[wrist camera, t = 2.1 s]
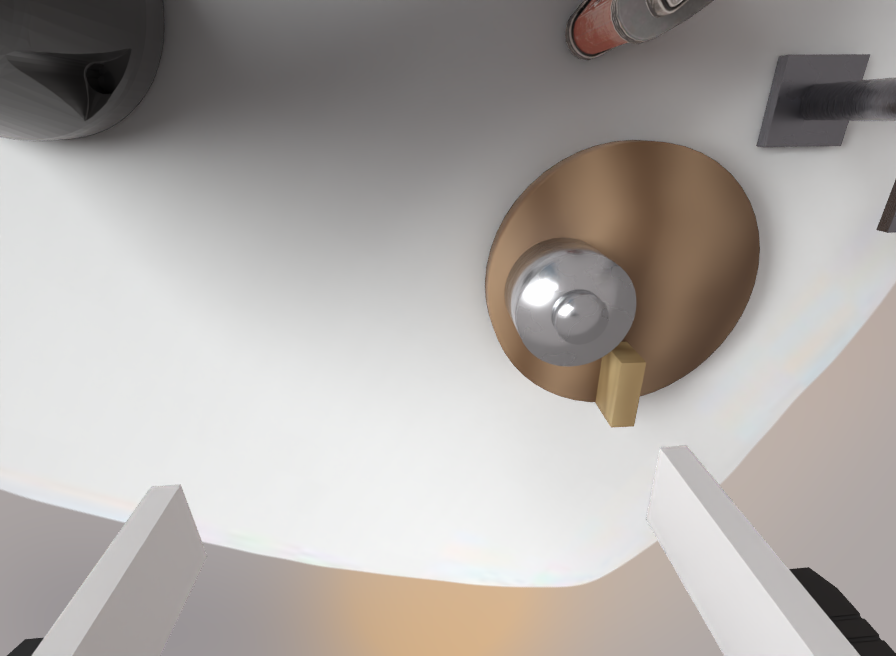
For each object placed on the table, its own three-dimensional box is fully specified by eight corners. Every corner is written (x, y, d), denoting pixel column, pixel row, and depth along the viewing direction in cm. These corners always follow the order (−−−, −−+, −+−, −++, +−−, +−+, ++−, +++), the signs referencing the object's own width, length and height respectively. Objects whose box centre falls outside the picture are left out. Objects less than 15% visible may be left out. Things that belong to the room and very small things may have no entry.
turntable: (482, 393, 35) (492, 433, 31) (488, 141, 28) (502, 146, 23) (707, 383, 36) (748, 420, 32) (772, 137, 29) (837, 141, 24)
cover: (502, 339, 31) (517, 377, 27) (506, 238, 29) (524, 261, 24) (602, 336, 32) (633, 372, 27) (616, 235, 29) (654, 257, 24)
